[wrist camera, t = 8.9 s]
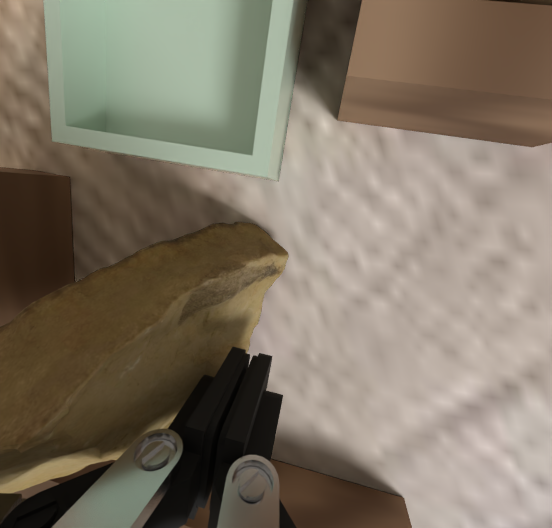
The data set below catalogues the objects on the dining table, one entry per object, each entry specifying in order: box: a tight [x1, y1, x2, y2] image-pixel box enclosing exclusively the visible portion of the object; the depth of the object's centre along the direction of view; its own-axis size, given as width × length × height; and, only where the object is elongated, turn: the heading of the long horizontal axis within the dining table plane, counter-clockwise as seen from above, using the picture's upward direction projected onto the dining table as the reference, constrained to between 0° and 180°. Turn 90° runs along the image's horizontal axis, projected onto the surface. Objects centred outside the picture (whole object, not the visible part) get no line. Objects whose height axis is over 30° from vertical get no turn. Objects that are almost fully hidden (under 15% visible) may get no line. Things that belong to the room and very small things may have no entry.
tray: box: [44, 0, 308, 181], centre depth 9 cm, size 8×8×2 cm
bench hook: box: [0, 167, 412, 528], centre depth 10 cm, size 22×16×7 cm
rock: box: [0, 222, 288, 493], centre depth 10 cm, size 11×9×10 cm
